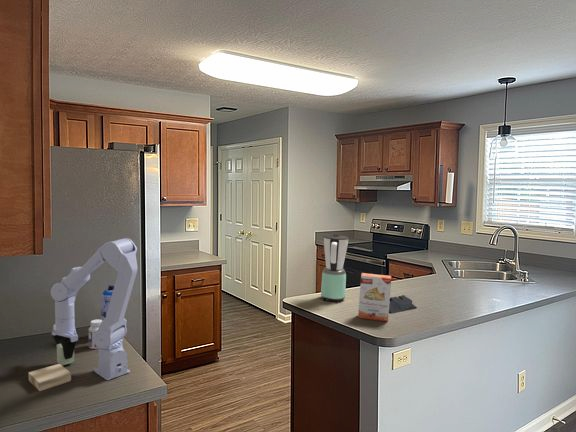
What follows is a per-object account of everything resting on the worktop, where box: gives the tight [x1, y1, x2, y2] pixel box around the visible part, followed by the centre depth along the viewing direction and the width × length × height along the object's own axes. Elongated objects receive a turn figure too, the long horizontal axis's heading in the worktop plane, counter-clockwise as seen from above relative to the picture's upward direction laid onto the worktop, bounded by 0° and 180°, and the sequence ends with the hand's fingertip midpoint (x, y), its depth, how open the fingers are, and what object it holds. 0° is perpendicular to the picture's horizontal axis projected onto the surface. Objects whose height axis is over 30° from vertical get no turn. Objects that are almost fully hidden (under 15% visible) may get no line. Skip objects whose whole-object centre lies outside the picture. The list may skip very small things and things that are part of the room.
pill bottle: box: [88, 318, 102, 350], centre depth 159 cm, size 5×5×10 cm
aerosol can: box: [100, 285, 115, 321], centre depth 170 cm, size 8×8×20 cm
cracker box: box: [357, 272, 392, 322], centre depth 203 cm, size 14×6×21 cm, turn 76°
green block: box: [56, 344, 75, 366], centre depth 144 cm, size 4×4×6 cm
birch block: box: [28, 363, 72, 392], centre depth 133 cm, size 9×9×3 cm
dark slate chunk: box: [389, 294, 418, 314], centre depth 223 cm, size 15×22×5 cm
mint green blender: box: [320, 234, 350, 303], centre depth 229 cm, size 19×13×35 cm
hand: (65, 356), depth 144 cm, fingers closed on green block, 4 cm apart
